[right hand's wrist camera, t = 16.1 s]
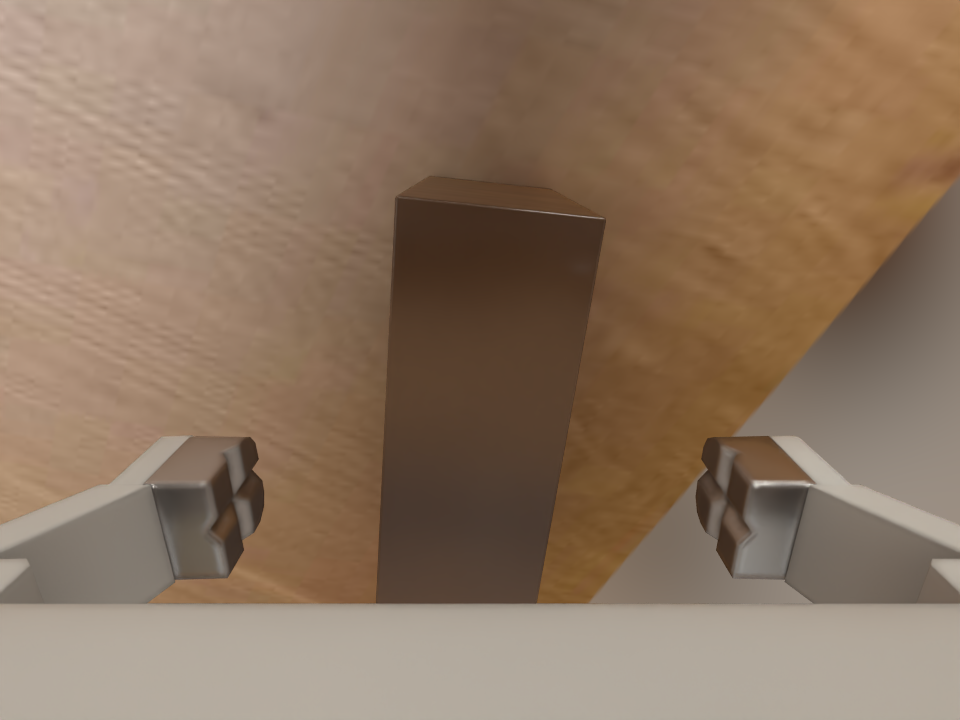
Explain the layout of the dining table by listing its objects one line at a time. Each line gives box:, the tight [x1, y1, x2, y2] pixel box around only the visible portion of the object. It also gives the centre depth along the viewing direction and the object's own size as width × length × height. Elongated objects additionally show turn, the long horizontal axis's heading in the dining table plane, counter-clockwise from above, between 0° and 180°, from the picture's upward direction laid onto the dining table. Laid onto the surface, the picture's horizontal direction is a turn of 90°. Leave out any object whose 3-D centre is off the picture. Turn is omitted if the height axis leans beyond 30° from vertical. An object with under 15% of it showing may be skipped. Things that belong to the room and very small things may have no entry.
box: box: [376, 176, 606, 604], centre depth 24 cm, size 20×6×12 cm, turn 174°
